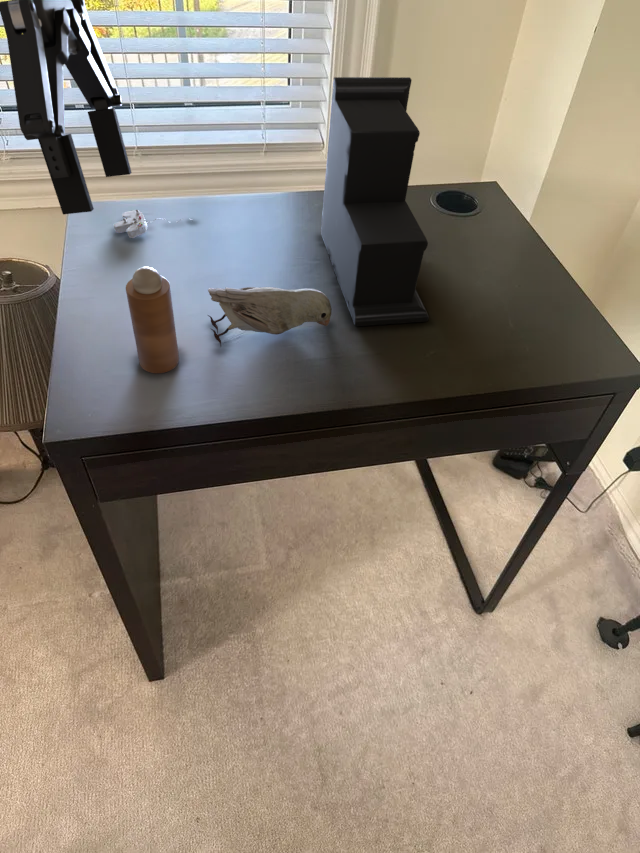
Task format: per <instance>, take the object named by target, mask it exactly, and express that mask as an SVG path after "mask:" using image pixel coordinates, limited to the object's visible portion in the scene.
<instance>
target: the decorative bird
mask: <svg viewBox="0 0 640 853" xmlns="http://www.w3.org/2000/svg"><path fill="white" fill-rule="evenodd" d="M207 291H208V292H207V293H208V295H209V296H210V300H211V301H212V302H216V303H218V305H219V307H220V308H221V310H222V311H223V312H224V314H223V315H222V316H221V317H220V318H218V319H215V320H214V318H213V317H212V316H211V315H208V314H207V316H208V317H209V319H210V323H211V325H212V327H214V328H215V329H213V328H209V329H210V331H213V336H214V338H215V340H216V341H217V342H218V343H219V344H220V347H222V339H221V338H220V337H221V336H223V335H225V334H227V333H228V332H229V331H230V330H234V329H239V330H240V331H245V332H246V331H247V332H255V333H266V334H271V335H281V334H283V333H285V332H288V331H289V330H292V329H295V328H296V327H300V326H302V325H303V324H305V323H317V324H318V325H322V326H324V327H327V326H328V325H329V324H330V321H331V316H332V304H331V302H330V299H329V297H328V296H327V295H326V294H325V293H324V292H322V291H320V290H318V289H315V288H300V289H285V288H279V287H272V286H264V287H263V286H262V287H261V286H260V287H259V286H258V287H256V286H255V287H254V286H249V287H247V286H246V287H241V288H233V287H224V288H221V287H216V288H213V287H209V288H208V289H207ZM225 318H227V320H228V321H229V322H230V325H228V326H227V327H226V329H225V330H224V331H222V332H220V333H219V326H218V325H217V323H220V322H222V321H223V320H224V319H225Z"/></svg>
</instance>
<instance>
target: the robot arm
mask: <svg viewBox="0 0 640 853" xmlns="http://www.w3.org/2000/svg"><path fill="white" fill-rule="evenodd" d="M0 16H1V19H2V24H3V27H4V30H5V34H6V39H7V48H8V54H9V61H10V68H11V75H12V82H13V89H14V94H15V103H16V109H17V116H18V124H19V127H20V132H21V133H22V134H23V137H24V139H25V140H26V141H32V140H38V143H39V146H40V149H41V152H42V156H43V159H44V161H45V165H46V168H47V170H48V174H49V178H50V180H51V182H52V186H53V188H54V191H55V195H56V198H57V200H58V204H59V207H60V210H61V213H62V215H72V214H81V213H92V211H94V209H95V208H94V205H93V201H92V199H91V194H90V191H89V188H88V185H87V182H86V179H85V176H84V175H85V174H84V172H83V169H82V165H81V162H80V159H79V155H78V152H77V149H76V146H75V142H74V139H73V135H72V133H66V119H65V116H66V115H65V88H64V86H65V85H64V66H65V67H66V69H67V71H68V72H69V74H70V76H71V77H72V79H73V80H74V82H75V84H76V85H77V87H78V90H80V93H81V95H82V96H83V98H84V99H85V101H86V103H87V104H88V106H89V108H90V109H91V110H89V111H87V115H88V119H89V123H90V125H91V130H92V133H93V137H94V139H95V143H96V147H97V151H98V154H99V157H100V161H101V164H102V168H103V171H104V175H105V178H110V177H119V176H121V177H122V176H129V175H131V174H132V172H133V171H132V169H131V165H130V161H129V156H128V153H127V149H126V145H125V141H124V137H123V134H122V130H121V126H120V122H119V119H118V114H117V111H116V107H122V106H123V100H122V99H123V98H122V95H121V94H119V88H117V85H116V83H115V80H114V77H113V76H112V72H111V70H110V68H109V65H108V63H107V61H106V57H105V55H104V53H103V50H102V48H101V45H100V43H99V40H98V38H97V35H96V33H95V30H94V28H93V25H92V23H91V21H90V17H89V14H88V11H87V7H86V3H85V0H2V1H0Z"/></svg>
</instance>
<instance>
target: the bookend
mask: <svg viewBox="0 0 640 853" xmlns="http://www.w3.org/2000/svg"><path fill="white" fill-rule="evenodd" d="M412 81H413V80H412V78H411V77H410V76H409V77H406V76H405V77H404V76H403V77H388V76H387V77H386V76H385V77H384V76H382V77H379V76H378V77H373V76H371V77H370V76H369V77H363V76H361V77H359V76H356V77H355V76H342V77H341V76H339V77H338V76H337V77H333V82H332V94H331V106H330V117H329V118H330V119H329V129H328V130H329V131H328V140H327V152H326V153H327V154H326V166H325V178H324V188H323V189H324V190H323V202H322V213H321V214H322V215H321V226H320V236H321V237H322V241H323V243H324V246H325V248H326V253H327V254H328V257H329V261H330V263H331V267H332V268H333V271H334V275H335V277H336V279H337V283H338V285H339V288H340V290H341V293H342V296H343V298H344V301H345V303H346V307H347V309H348V312H349V314H350V318H351V320H352V322H353V325H354V327H368V326H381V325H393V324H394V325H395V324H410V323H422V322H424V323H425V322H428V321H429V318H430V317H429V314H428V312H427V311H428V310H426V306H425V305H424V304H423V302H422V299H421V297H420V295H419V293H418V290H417V289H416V287H417V285H418V284H417V283H418V280H419V275H420V271H421V266H422V262H423V259H424V254H425V251H426V250H427V248H428V245H429V241H428V239H427V236H426V235H425V233H424V232H423V230H422V228H421V226H420V224H419V222H418V221H417V219H416V217H415V216H414V214H413V212H412V210H411V208H410V206H409V204H408V202H407V201H406V199H407V193H408V187H409V183H410V182H409V181H410V177H411V172H412V167H413V161H414V156H415V150H416V143H417V142H418V141H419V137H420V134H421V131H420V130H419V128H418V126H417V125H416V124H415V122H414V121H413V119H412V117H411V116H410V115H409V113H408V112H407V110H408V102H409V98H410V91H411V86H412Z"/></svg>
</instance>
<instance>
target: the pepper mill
mask: <svg viewBox="0 0 640 853" xmlns="http://www.w3.org/2000/svg"><path fill="white" fill-rule="evenodd" d="M125 293H126V298H127V304H128V310H129V315H130V320H131V326H132V332H133V336H134V341H135V346H136V352H137V359H138V362H139V366H140V367H141V368H142V369H143V371H145V372H148V373H151V374H165V373H168V372H170V371H172V370H174V369H175V368H176V367H177V366H178V364H179V362H180V356H179V347H178V339H177V332H176V323H175V322H176V321H175V315H174V307H173V306H174V305H173V299H172V291H171V284H170V281H169V280H168V278H165V277H164V276H162V275H161V274H160V273H159V271H158V270H156V269H155V268H153V267H151V266H142V267H140V268H138V269H137V270H135V271H134V273H133V275H132V277H131V279H130V280H128V282H127V283H126V284H125Z"/></svg>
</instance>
